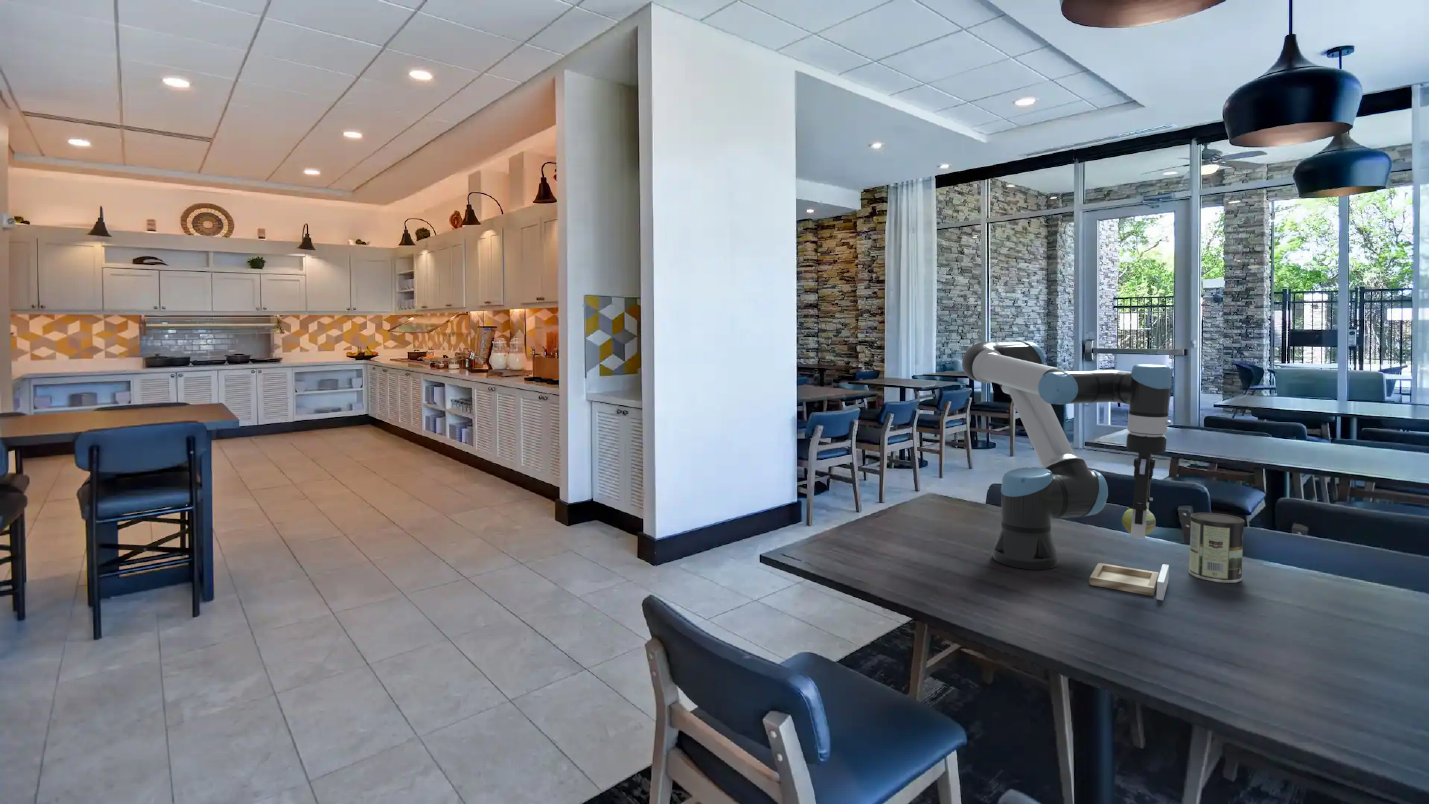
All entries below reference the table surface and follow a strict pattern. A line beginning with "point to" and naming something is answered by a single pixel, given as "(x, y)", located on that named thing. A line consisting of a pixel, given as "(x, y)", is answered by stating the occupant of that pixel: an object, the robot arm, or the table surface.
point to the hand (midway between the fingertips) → (1138, 532)
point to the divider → (1162, 582)
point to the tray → (1124, 579)
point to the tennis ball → (1128, 520)
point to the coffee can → (1216, 547)
